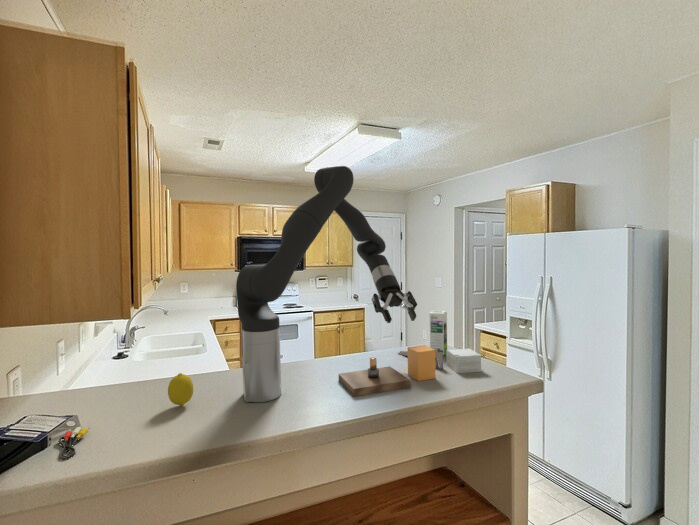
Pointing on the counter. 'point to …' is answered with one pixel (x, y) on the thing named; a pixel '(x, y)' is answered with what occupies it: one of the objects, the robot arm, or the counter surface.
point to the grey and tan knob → (373, 369)
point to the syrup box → (438, 330)
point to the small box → (464, 360)
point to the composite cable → (71, 441)
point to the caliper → (437, 355)
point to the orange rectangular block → (421, 362)
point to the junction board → (373, 381)
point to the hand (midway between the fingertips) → (402, 320)
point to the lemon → (180, 389)
